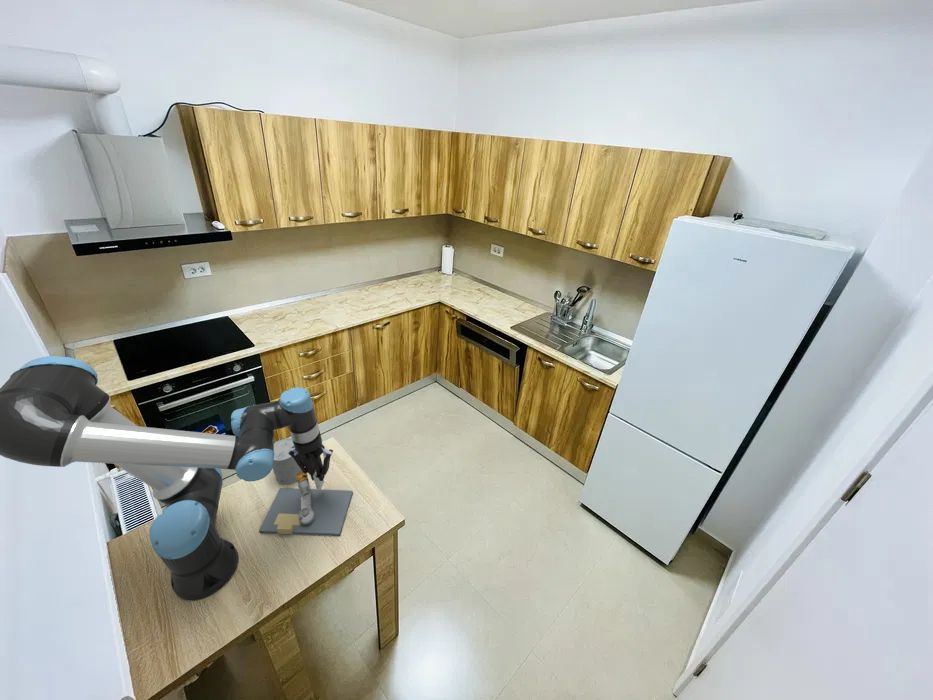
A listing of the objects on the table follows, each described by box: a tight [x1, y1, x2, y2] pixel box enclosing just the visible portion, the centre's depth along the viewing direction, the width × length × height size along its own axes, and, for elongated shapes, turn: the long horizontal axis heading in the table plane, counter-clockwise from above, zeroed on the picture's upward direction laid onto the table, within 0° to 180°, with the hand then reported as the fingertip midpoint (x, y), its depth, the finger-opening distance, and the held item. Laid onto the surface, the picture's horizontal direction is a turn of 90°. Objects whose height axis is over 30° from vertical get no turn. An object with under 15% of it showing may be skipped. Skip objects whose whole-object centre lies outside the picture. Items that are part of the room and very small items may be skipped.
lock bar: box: [295, 471, 315, 526], centre depth 114 cm, size 13×4×10 cm, turn 21°
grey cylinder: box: [272, 438, 302, 486], centre depth 126 cm, size 10×10×12 cm
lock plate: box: [258, 487, 354, 537], centre depth 116 cm, size 24×16×5 cm, turn 90°
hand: (320, 485), depth 120 cm, fingers closed
